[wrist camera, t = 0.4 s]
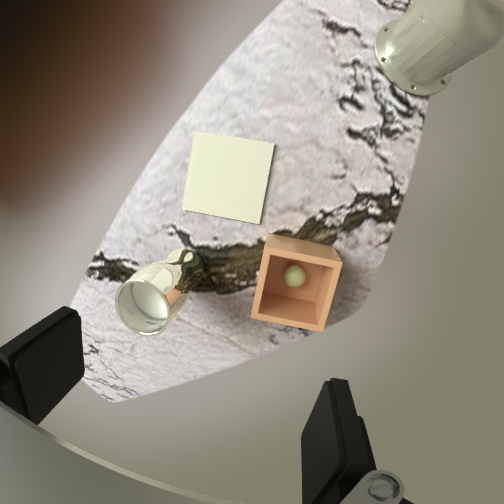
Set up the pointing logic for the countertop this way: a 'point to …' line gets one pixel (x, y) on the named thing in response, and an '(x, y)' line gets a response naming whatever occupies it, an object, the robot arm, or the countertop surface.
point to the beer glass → (159, 292)
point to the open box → (296, 298)
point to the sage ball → (294, 275)
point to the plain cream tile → (227, 176)
